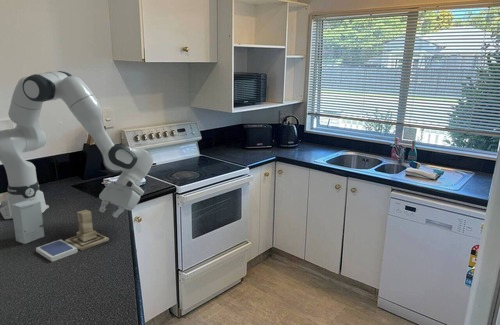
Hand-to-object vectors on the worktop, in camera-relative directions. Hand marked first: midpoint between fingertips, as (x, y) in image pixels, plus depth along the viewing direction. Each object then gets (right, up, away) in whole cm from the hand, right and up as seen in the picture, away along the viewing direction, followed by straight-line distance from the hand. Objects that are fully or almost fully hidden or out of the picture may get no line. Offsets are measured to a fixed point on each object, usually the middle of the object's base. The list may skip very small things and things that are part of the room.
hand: (107, 214), depth 147 cm
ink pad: (-13, -12, -14) cm, 22 cm away
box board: (-6, -10, -5) cm, 12 cm away
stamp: (-6, -9, -5) cm, 12 cm away
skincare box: (-29, -9, -3) cm, 30 cm away
